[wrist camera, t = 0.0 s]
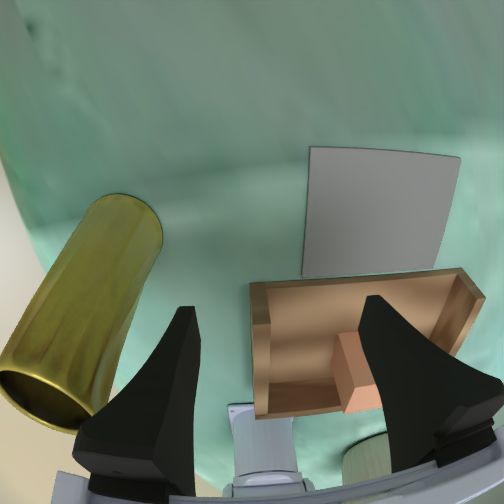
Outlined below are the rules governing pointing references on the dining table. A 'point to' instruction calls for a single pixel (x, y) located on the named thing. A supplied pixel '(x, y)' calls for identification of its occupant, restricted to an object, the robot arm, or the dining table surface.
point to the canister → (367, 462)
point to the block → (353, 375)
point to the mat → (375, 210)
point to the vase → (81, 316)
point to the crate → (342, 330)
